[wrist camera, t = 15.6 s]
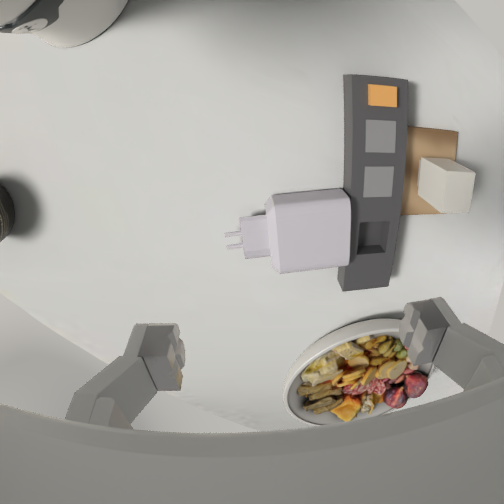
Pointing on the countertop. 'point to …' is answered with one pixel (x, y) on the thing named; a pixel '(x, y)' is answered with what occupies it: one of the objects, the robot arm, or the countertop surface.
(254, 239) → the charger
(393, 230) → the power strip
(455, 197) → the charger
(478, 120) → the countertop surface
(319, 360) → the bowl
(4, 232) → the jar
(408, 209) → the cork mat
